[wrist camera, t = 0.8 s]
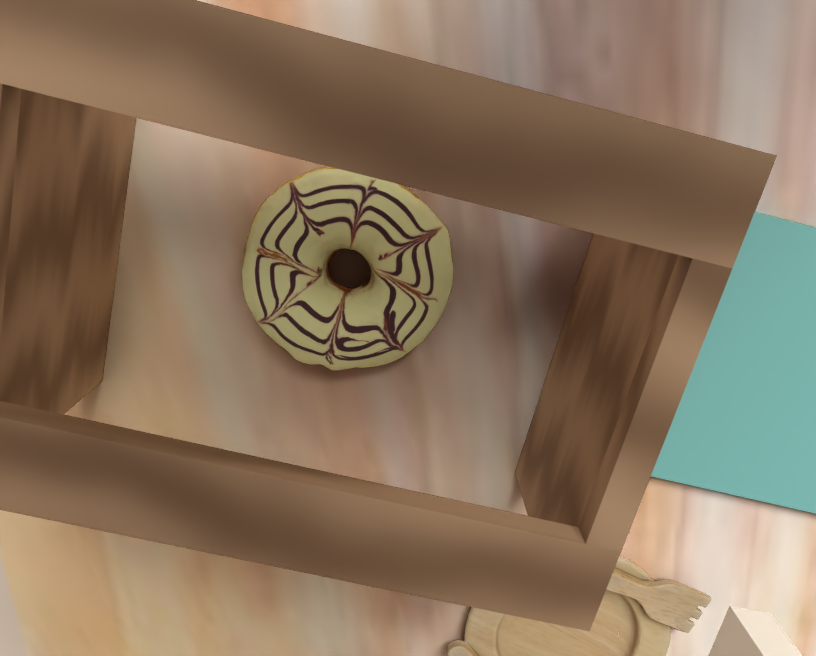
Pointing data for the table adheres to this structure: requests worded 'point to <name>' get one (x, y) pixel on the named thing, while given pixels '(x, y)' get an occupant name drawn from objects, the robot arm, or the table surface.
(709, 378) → the mat
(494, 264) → the table surface
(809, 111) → the table surface
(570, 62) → the table surface
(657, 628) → the tableware set
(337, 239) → the decorated donut
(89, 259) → the box
